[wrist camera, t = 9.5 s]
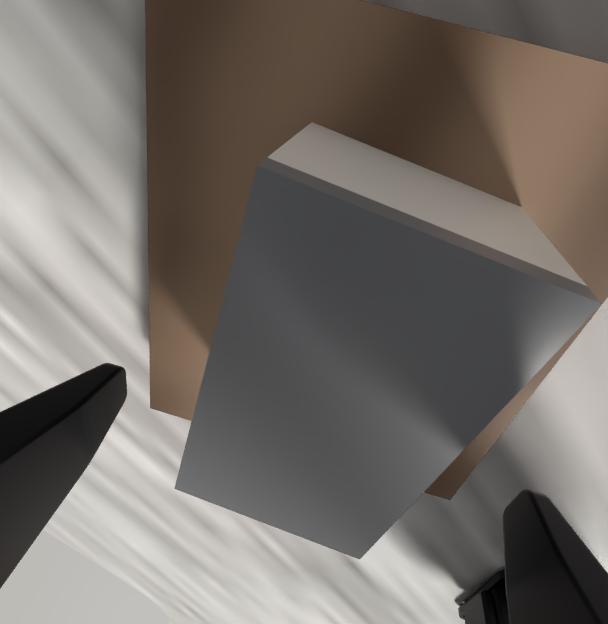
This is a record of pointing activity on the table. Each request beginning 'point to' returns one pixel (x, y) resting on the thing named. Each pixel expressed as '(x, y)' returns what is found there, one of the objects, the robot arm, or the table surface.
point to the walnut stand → (362, 127)
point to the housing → (367, 338)
